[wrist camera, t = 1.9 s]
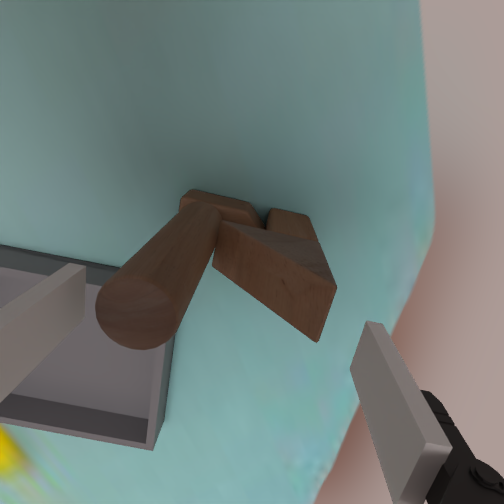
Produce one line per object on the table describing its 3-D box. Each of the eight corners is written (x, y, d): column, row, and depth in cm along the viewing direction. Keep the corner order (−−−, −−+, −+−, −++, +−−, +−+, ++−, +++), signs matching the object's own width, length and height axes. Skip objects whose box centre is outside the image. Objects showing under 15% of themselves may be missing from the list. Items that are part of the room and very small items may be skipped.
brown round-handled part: (299, 252, 32) (330, 397, 15) (184, 226, 32) (84, 344, 15) (310, 214, 31) (357, 326, 14) (190, 186, 30) (89, 266, 13)
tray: (-25, 239, 33) (-63, 254, 29) (182, 279, 33) (170, 299, 30) (-10, 387, 39) (-39, 415, 36) (164, 419, 40) (152, 450, 36)
